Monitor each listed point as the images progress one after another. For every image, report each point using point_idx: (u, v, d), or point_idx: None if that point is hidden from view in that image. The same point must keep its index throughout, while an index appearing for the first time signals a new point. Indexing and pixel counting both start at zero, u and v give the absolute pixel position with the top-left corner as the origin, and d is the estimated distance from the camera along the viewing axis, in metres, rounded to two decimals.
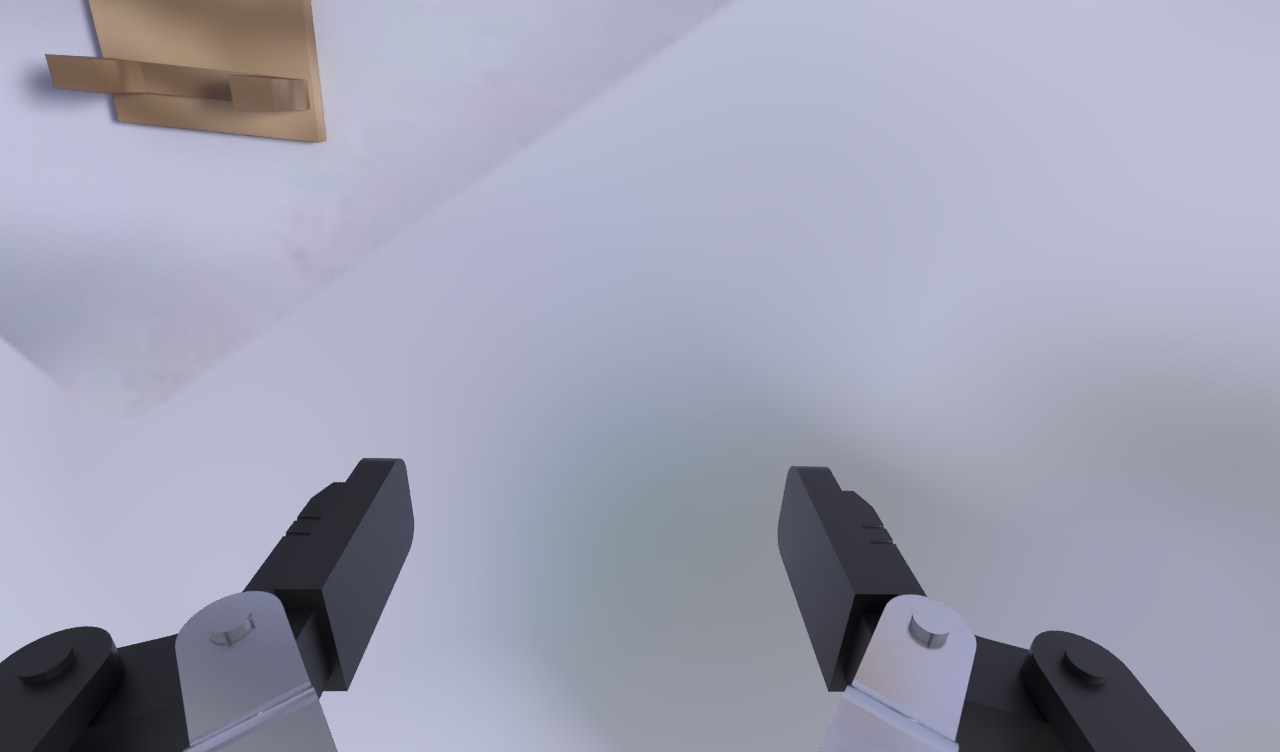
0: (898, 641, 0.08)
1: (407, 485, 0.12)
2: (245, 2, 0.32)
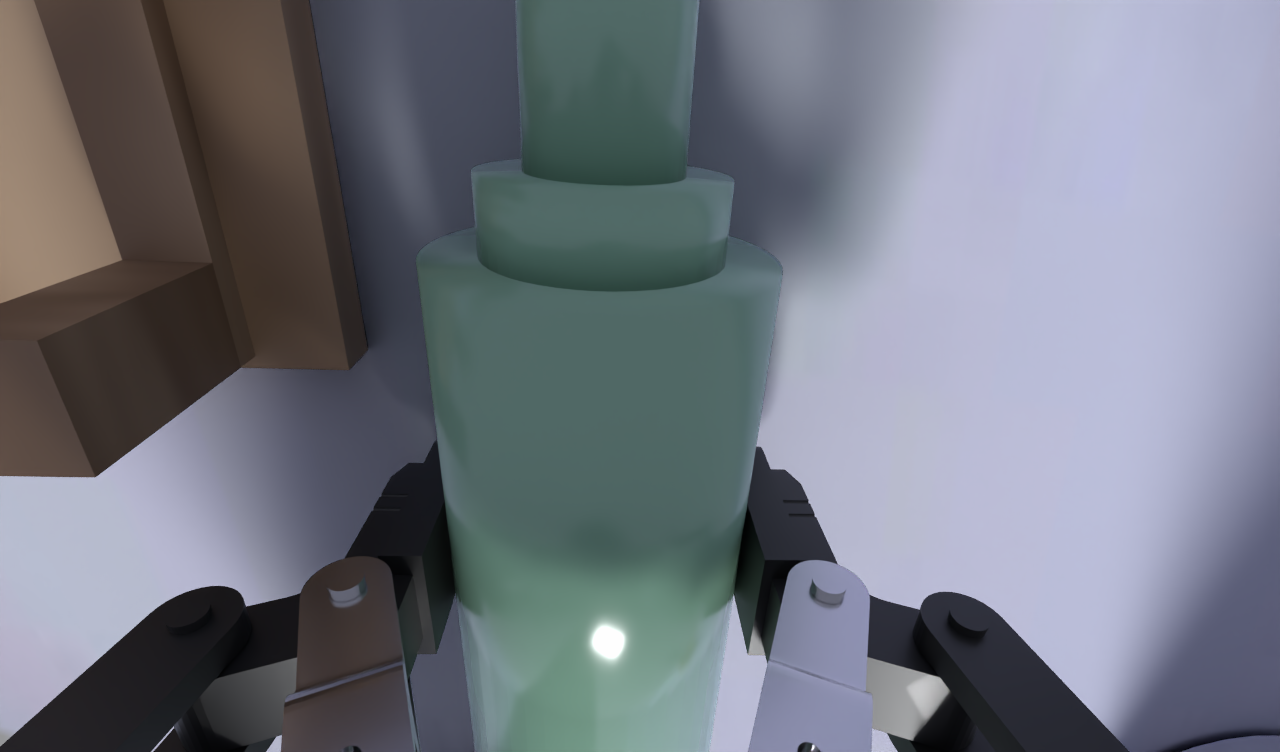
0: (804, 607, 0.09)
1: None
2: None
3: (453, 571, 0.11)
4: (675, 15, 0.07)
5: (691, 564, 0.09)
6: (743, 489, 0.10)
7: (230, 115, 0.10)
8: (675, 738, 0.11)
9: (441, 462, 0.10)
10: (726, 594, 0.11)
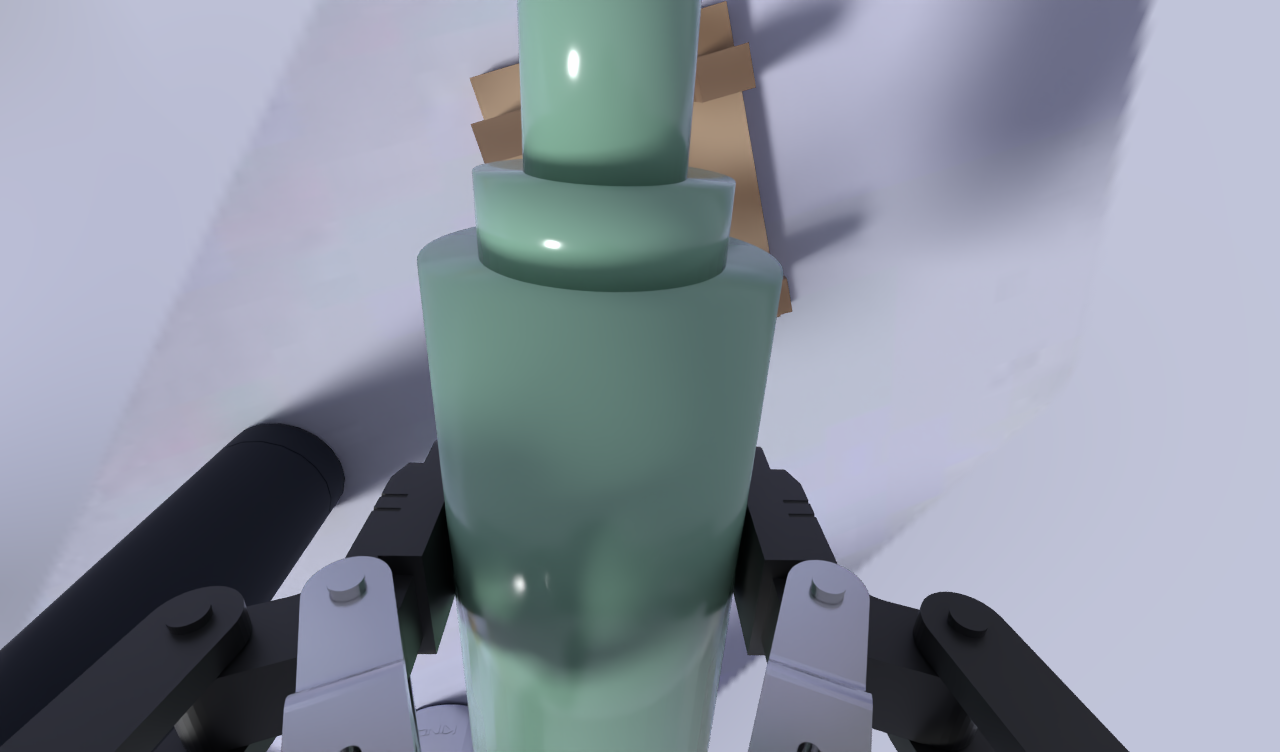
0: (803, 607, 0.09)
1: None
2: None
3: None
4: (678, 17, 0.07)
5: (690, 565, 0.09)
6: (743, 490, 0.10)
7: None
8: (674, 739, 0.11)
9: (441, 462, 0.10)
10: (725, 595, 0.11)
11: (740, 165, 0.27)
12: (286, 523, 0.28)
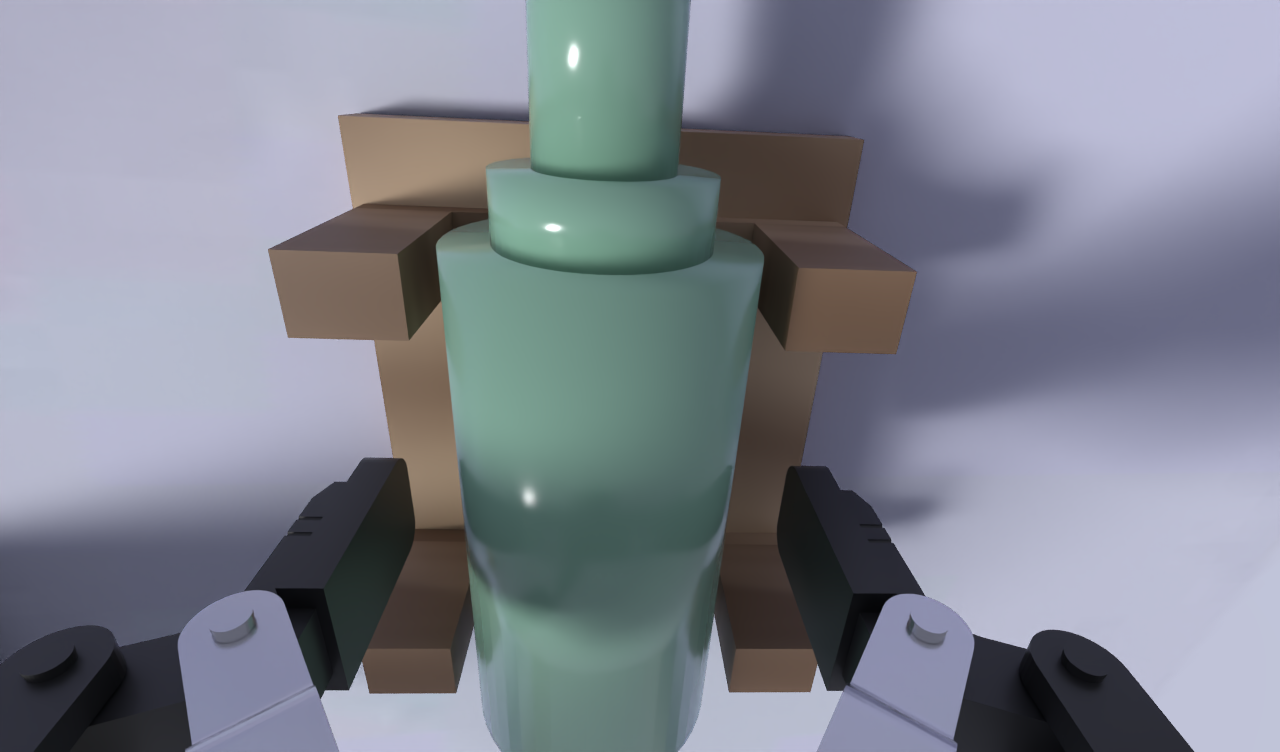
0: (896, 640, 0.08)
1: (408, 485, 0.12)
2: None
3: (465, 535, 0.12)
4: (668, 32, 0.08)
5: (682, 522, 0.10)
6: (729, 456, 0.11)
7: None
8: (669, 688, 0.12)
9: (456, 432, 0.10)
10: (715, 554, 0.12)
11: (789, 401, 0.16)
12: None
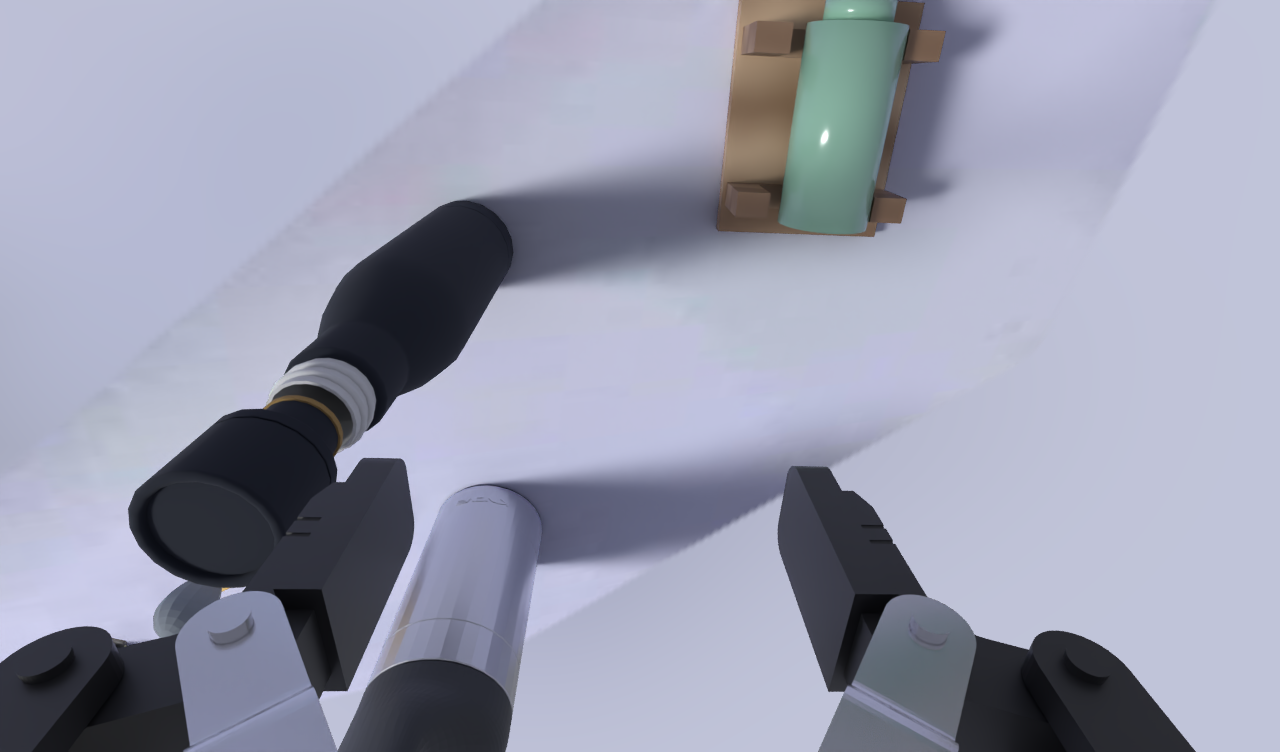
0: (898, 641, 0.08)
1: (407, 485, 0.12)
2: (776, 118, 0.38)
3: (806, 132, 0.34)
4: None
5: (887, 109, 0.33)
6: (894, 95, 0.34)
7: None
8: (871, 188, 0.35)
9: (816, 85, 0.33)
10: (885, 137, 0.35)
11: (890, 118, 0.39)
12: (498, 269, 0.37)
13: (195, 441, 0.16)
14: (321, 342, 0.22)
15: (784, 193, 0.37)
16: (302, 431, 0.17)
